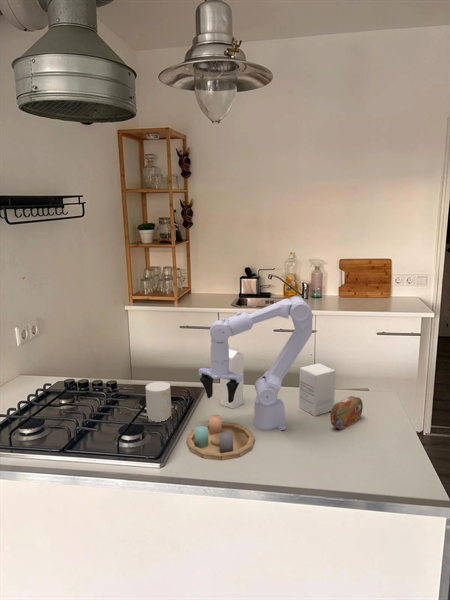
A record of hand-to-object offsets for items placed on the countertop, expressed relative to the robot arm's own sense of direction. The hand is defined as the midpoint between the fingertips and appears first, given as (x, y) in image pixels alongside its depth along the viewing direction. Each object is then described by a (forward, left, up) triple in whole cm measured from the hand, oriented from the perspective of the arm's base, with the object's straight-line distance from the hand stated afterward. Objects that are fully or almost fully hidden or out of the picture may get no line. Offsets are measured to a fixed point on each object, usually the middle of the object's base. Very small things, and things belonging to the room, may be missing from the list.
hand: (220, 399), depth 149 cm
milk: (-9, -16, -10) cm, 21 cm away
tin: (-40, +10, -10) cm, 42 cm away
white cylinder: (+18, -12, -10) cm, 24 cm away
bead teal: (+9, +10, -9) cm, 16 cm away
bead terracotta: (+3, +4, -9) cm, 10 cm away
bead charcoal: (+3, +16, -9) cm, 18 cm away
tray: (+3, +10, -10) cm, 14 cm away
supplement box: (-36, -3, -10) cm, 38 cm away
